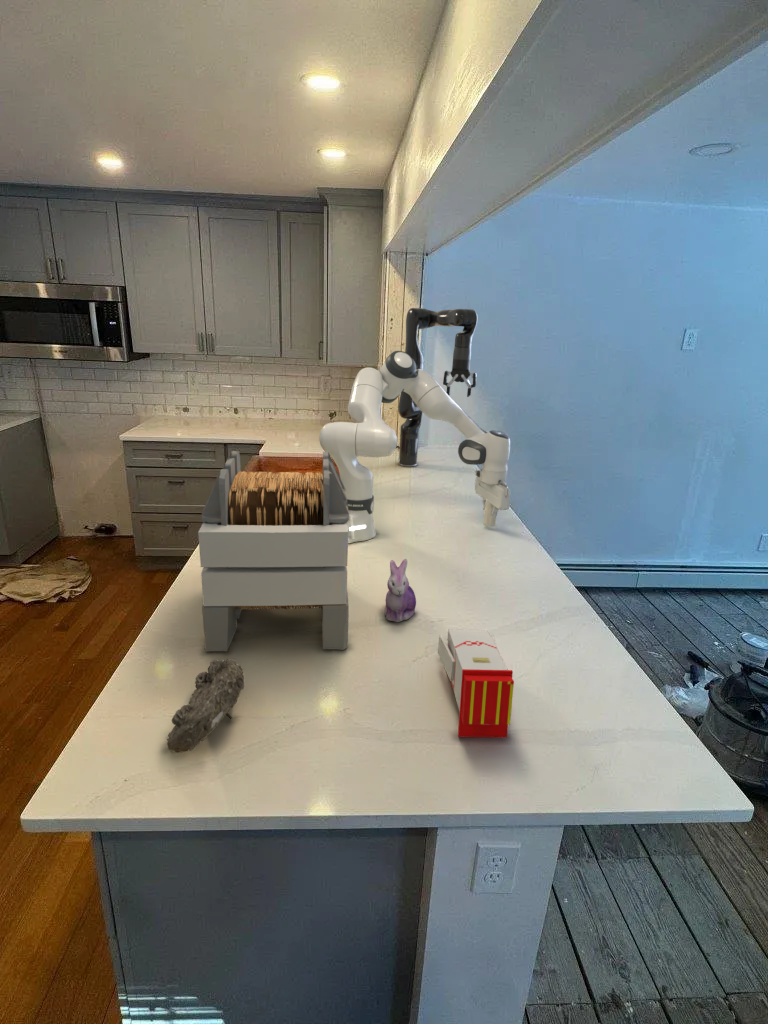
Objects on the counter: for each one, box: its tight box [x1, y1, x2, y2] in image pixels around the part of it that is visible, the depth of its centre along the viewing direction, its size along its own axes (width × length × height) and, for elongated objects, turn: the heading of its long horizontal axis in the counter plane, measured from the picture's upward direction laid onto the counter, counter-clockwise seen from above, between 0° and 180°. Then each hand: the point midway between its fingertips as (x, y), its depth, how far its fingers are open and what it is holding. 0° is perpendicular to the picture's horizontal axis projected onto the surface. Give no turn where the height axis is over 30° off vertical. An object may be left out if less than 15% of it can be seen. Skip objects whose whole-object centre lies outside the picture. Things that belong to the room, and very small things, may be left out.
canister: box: [482, 499, 498, 528], centre depth 207 cm, size 5×5×10 cm
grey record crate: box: [197, 450, 350, 653], centre depth 138 cm, size 34×33×41 cm
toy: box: [437, 628, 515, 738], centre depth 117 cm, size 12×13×30 cm
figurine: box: [384, 558, 417, 623], centre depth 145 cm, size 9×10×15 cm
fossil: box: [166, 658, 245, 754], centre depth 106 cm, size 22×10×15 cm
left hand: (489, 513), depth 207 cm, fingers closed on canister, 4 cm apart
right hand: (458, 395), depth 250 cm, fingers open, 8 cm apart
